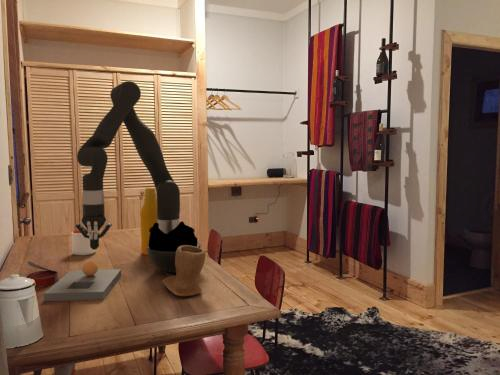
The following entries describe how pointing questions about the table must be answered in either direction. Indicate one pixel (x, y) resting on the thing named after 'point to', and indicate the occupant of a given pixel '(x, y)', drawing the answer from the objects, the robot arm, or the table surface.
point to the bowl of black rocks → (169, 245)
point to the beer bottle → (148, 217)
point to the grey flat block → (83, 286)
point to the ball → (89, 268)
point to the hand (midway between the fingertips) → (94, 248)
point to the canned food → (43, 276)
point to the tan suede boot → (186, 271)
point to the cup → (81, 244)
